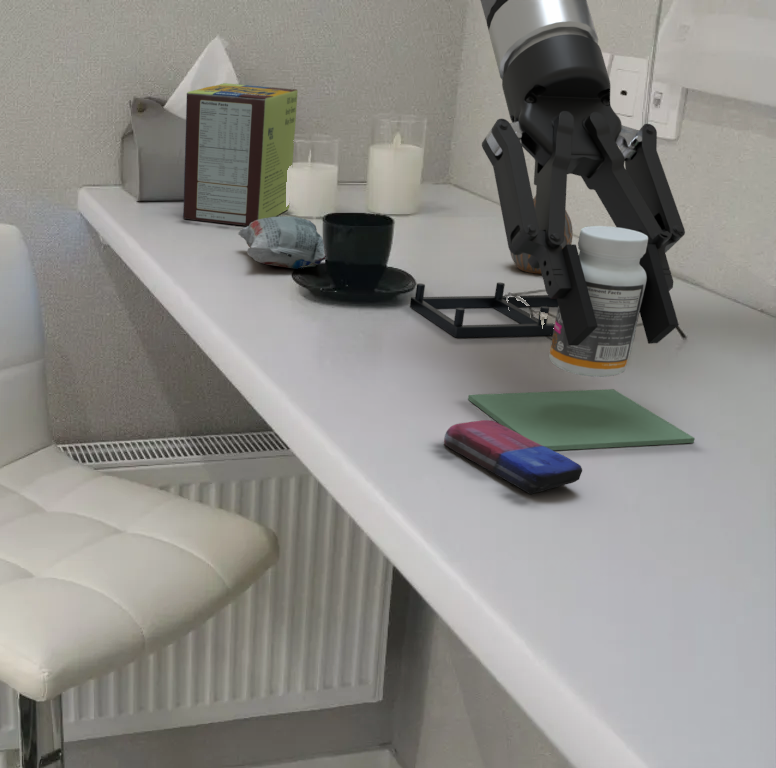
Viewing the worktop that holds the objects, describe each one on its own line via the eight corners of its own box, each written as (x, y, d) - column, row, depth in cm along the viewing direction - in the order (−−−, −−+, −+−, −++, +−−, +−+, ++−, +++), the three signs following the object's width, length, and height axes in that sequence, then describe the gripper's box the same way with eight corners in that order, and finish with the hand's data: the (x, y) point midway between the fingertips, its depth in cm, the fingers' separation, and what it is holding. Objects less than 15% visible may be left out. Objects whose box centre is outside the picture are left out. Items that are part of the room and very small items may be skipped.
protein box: (290, 209, 161) (299, 88, 154) (258, 228, 147) (266, 97, 141) (218, 200, 163) (223, 82, 156) (180, 219, 150) (184, 90, 143)
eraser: (434, 442, 83) (436, 418, 82) (480, 435, 85) (483, 412, 84) (535, 500, 74) (539, 474, 73) (585, 491, 75) (590, 466, 75)
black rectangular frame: (569, 304, 121) (573, 280, 120) (626, 333, 112) (632, 308, 111) (409, 306, 117) (412, 282, 116) (455, 338, 107) (459, 311, 106)
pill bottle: (552, 350, 90) (576, 220, 86) (628, 362, 89) (657, 230, 84) (543, 371, 85) (568, 234, 81) (624, 384, 84) (654, 245, 79)
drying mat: (612, 393, 95) (613, 388, 95) (694, 443, 86) (695, 438, 86) (467, 399, 92) (468, 394, 92) (535, 451, 82) (536, 446, 82)
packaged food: (245, 274, 125) (249, 227, 123) (237, 249, 135) (240, 206, 133) (326, 278, 126) (331, 232, 124) (311, 253, 136) (315, 210, 134)
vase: (500, 261, 138) (512, 185, 134) (559, 265, 138) (572, 188, 134) (510, 275, 132) (523, 195, 128) (572, 279, 132) (586, 199, 128)
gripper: (630, 101, 95) (705, 356, 88) (418, 93, 90) (480, 363, 83) (684, 34, 88) (770, 306, 81) (457, 22, 83) (528, 310, 76)
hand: (623, 334), depth 82 cm, fingers closed on pill bottle, 6 cm apart
